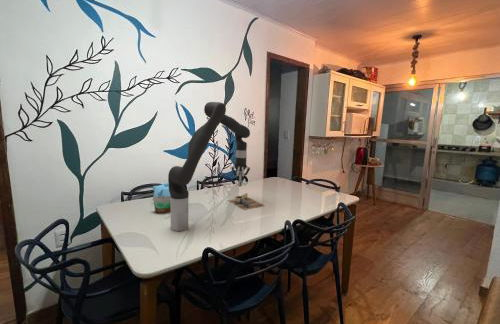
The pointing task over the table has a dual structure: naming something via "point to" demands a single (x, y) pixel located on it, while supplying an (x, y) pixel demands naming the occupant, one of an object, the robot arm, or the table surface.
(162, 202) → the food container
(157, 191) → the light blue lumpy mass
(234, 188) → the table surface
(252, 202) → the mounting board
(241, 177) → the hinge pin
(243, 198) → the hinge
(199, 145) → the robot arm
